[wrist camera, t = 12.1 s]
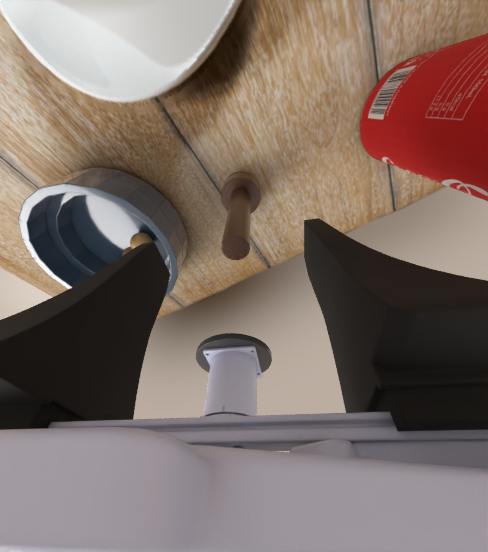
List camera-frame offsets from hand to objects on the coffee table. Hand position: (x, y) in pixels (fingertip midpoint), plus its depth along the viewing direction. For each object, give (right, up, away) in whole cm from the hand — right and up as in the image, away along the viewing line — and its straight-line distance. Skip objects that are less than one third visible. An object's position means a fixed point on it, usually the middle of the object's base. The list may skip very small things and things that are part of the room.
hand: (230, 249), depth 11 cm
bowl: (-11, +3, +11) cm, 16 cm away
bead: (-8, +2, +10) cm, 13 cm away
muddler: (0, +6, +8) cm, 10 cm away
